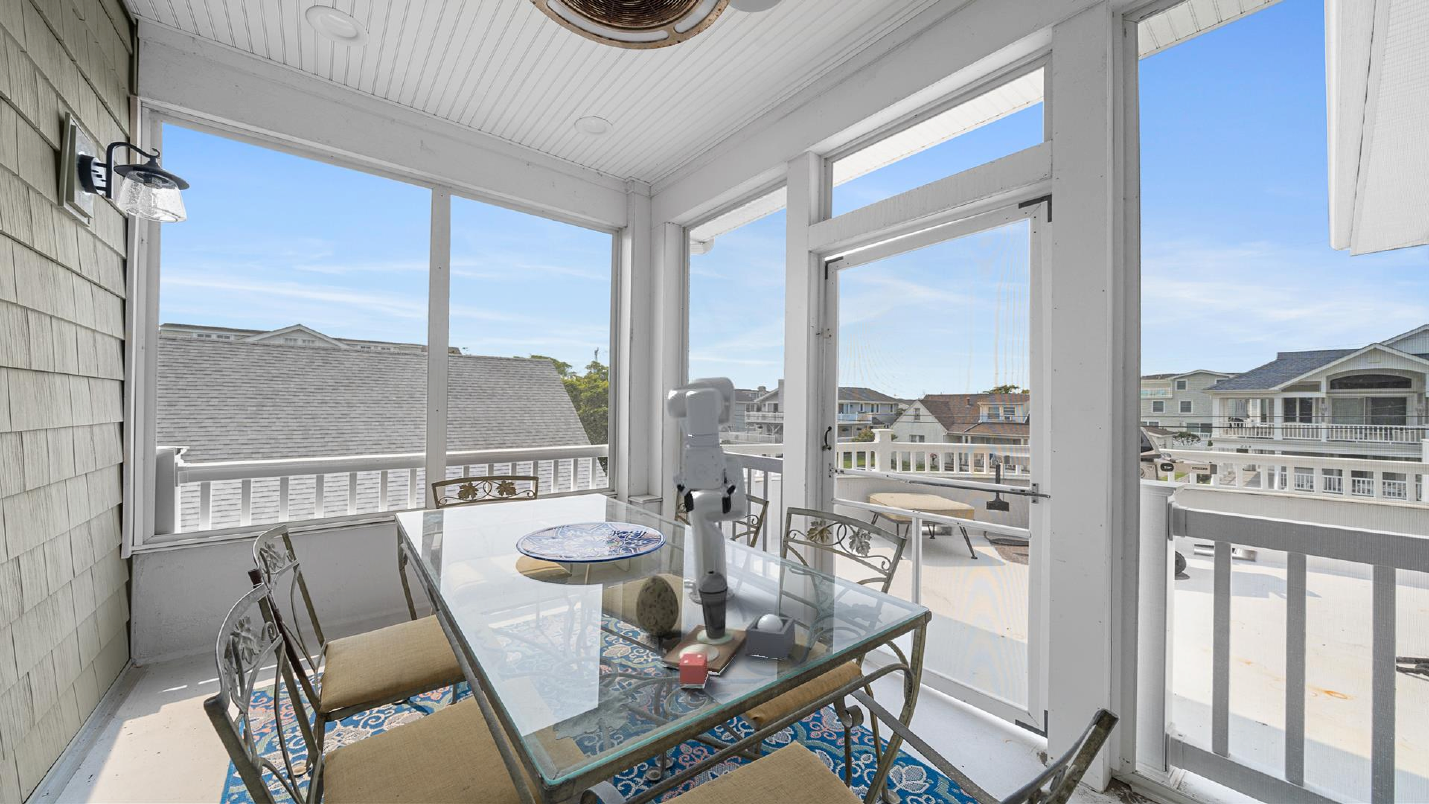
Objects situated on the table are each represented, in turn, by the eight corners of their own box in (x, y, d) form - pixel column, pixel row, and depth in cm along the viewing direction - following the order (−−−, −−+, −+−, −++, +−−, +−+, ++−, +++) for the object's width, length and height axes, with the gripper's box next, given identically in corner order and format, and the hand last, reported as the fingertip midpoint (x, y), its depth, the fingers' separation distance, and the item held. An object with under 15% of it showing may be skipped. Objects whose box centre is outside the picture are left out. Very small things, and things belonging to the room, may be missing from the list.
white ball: (754, 644, 134) (753, 619, 134) (763, 633, 140) (761, 609, 139) (779, 647, 132) (778, 621, 132) (787, 636, 137) (785, 611, 137)
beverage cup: (700, 629, 144) (695, 550, 144) (729, 627, 145) (724, 548, 144) (701, 643, 137) (697, 559, 136) (732, 640, 138) (727, 557, 137)
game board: (662, 667, 130) (661, 659, 130) (698, 630, 148) (698, 623, 148) (719, 676, 125) (718, 667, 125) (750, 637, 143) (749, 630, 143)
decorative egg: (633, 630, 151) (629, 573, 150) (673, 622, 155) (669, 566, 154) (643, 647, 141) (639, 586, 140) (685, 637, 145) (681, 578, 144)
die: (680, 688, 121) (679, 664, 120) (685, 676, 126) (683, 653, 125) (704, 689, 120) (702, 664, 120) (708, 676, 125) (706, 653, 125)
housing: (746, 655, 133) (745, 629, 133) (759, 638, 142) (758, 614, 141) (784, 660, 130) (783, 634, 130) (795, 643, 138) (794, 618, 138)
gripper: (664, 443, 139) (669, 514, 140) (731, 442, 132) (735, 517, 133) (678, 439, 146) (682, 507, 147) (742, 439, 139) (747, 509, 140)
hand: (708, 511), depth 140 cm, fingers open, 9 cm apart
